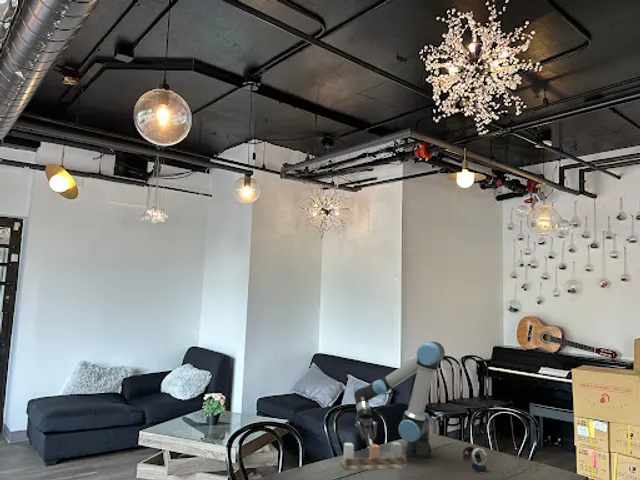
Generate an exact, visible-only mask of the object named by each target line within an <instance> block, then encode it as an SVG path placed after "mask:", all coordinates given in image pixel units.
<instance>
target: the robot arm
mask: <svg viewBox="0 0 640 480" xmlns="http://www.w3.org/2000/svg"><path fill="white" fill-rule="evenodd" d="M416 350H417V351H416V356H414V357H413V358H412V359H410V360H409V361H407V362H406V363H404V364H403V365H401V366H399V367H398V368H397V369H395V370H394V371H392V372H391V373H389V374H388V375H386V376H385V377H383V378H381V379H377V380H374V381H373V382H371V383H369V384H368V385H366V386H365V385H356V386H355V387H354V388H353V397H354V401H355V407H356V411H357V418H358V421H356V422H355V424H354V427H356V429H357V431H358V434H359V436H360V438H361V440H362V441H364V442H365V443H366V447H368V448H369V445H370V444H375V442H374V441H375V440H376V438H377V426H378V424H379V422H378V421H374V419H373V416H372V412H371V407H370V402H369V401H370V400H372V399H374V398H377V397H378V396H381V395H383V394H386V393H388V392H389V391H390V390H392V389H393V388H395V387H396V386H399V384H401V383H402V382H404V381H406V380H407V379H409V378H410V377H412V376H414V375H415V379H414V384H413V388H412V392H411V396H410V399H409V405H408V409H406V410H405V411H404V412H403V417H402V421H401V422H400V423H399V425H398V434H399V436H400V438H402V440H404V441H405V442H406V445H405V448H404V454H405V455H406V456H408V457H410V458H414V459H428V458H432V457H433V450H432V446H431V443H430V415H429V413H427V412H425V410H426V405H427V402H428V397H429V393H430V390H431V389H430V388H431V384H432V381H433V378H434V374H435V372H437V371H438V369H439V364H440V362H441V361H443V359H444V358H445V354H446V352H445V348H444V347H443V345H442V344H441V343H440V342H438V341H428V342H424V343H422V344H420V345H419V346H418V348H417V349H416ZM372 426H373V429H372Z"/></svg>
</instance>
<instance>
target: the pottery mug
mask: <svg viewBox="0 0 640 480" xmlns="http://www.w3.org/2000/svg"><path fill="white" fill-rule="evenodd" d="M474 449H475V446H472V445H470V446H466V447H464V449H462V459H463V460H464V459H465V460H470V459H472V457H471V456H472V452H473V450H474ZM478 451H479V450H478ZM478 451H477V452H476V453H475V458H478V459H477V460H480V461H481V460H482V457H481V455H480V454H479V452H478ZM466 452H467V453H466Z"/></svg>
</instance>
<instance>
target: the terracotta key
mask: <svg viewBox="0 0 640 480" xmlns="http://www.w3.org/2000/svg"><path fill="white" fill-rule="evenodd" d="M380 449H381V448H380V446H379V445H378V444H375V443H374V444H370V445H369V447H368V452H369V454H368V458H381V457H380V455H381V454H380V452H381V450H380Z"/></svg>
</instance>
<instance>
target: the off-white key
mask: <svg viewBox="0 0 640 480" xmlns="http://www.w3.org/2000/svg"><path fill="white" fill-rule="evenodd" d="M354 447H355V445H354V444H353V443H352V442H344V443H343V459H344V460H345V462H346V459H354V455H355V454H354V453H355V451H354V450H355V448H354Z"/></svg>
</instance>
